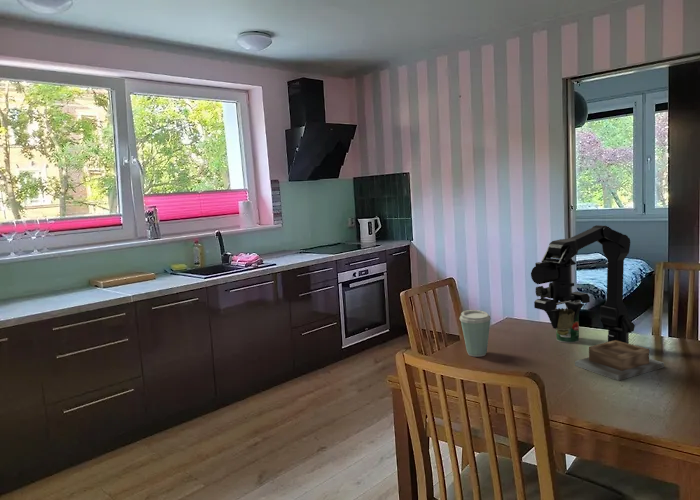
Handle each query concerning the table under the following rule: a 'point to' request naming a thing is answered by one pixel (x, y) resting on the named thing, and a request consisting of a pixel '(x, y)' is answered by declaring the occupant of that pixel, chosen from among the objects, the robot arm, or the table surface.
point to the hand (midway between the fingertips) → (562, 326)
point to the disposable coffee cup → (475, 331)
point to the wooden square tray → (618, 360)
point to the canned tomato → (570, 333)
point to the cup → (565, 321)
